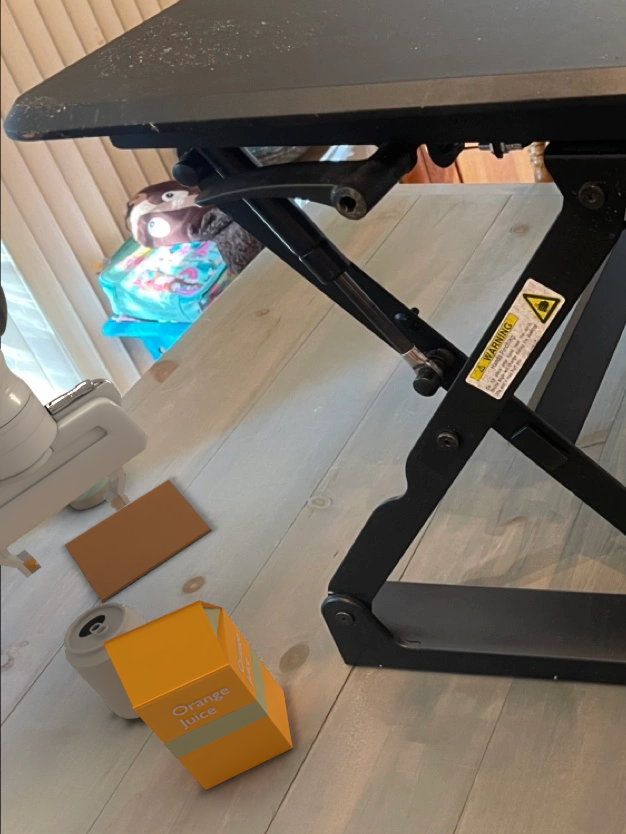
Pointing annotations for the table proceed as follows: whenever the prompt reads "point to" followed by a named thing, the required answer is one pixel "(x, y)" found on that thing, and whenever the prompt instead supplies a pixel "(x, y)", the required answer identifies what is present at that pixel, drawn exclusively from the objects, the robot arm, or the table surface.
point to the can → (102, 651)
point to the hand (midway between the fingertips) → (77, 536)
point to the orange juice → (203, 692)
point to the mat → (136, 539)
